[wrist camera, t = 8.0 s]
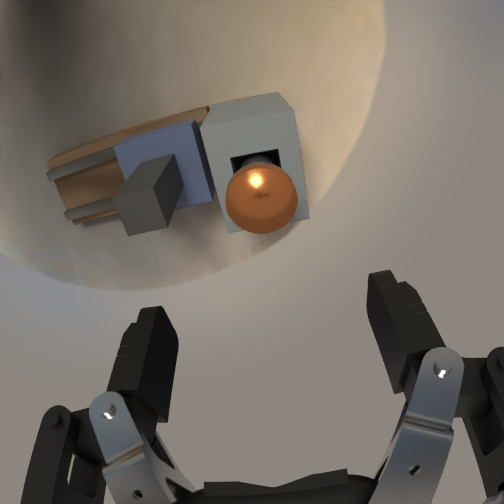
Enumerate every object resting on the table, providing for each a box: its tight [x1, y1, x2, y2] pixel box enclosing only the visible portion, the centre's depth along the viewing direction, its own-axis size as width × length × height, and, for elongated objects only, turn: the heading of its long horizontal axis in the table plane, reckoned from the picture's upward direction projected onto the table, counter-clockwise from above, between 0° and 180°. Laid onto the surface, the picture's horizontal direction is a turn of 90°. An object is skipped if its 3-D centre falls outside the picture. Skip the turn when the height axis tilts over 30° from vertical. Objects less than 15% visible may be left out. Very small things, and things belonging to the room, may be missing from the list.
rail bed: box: [46, 106, 216, 225], centre depth 29 cm, size 8×18×2 cm, turn 101°
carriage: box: [112, 119, 214, 236], centre depth 24 cm, size 7×7×9 cm
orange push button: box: [225, 151, 298, 233], centre depth 20 cm, size 4×4×6 cm
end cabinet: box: [200, 92, 309, 233], centre depth 25 cm, size 8×6×10 cm
